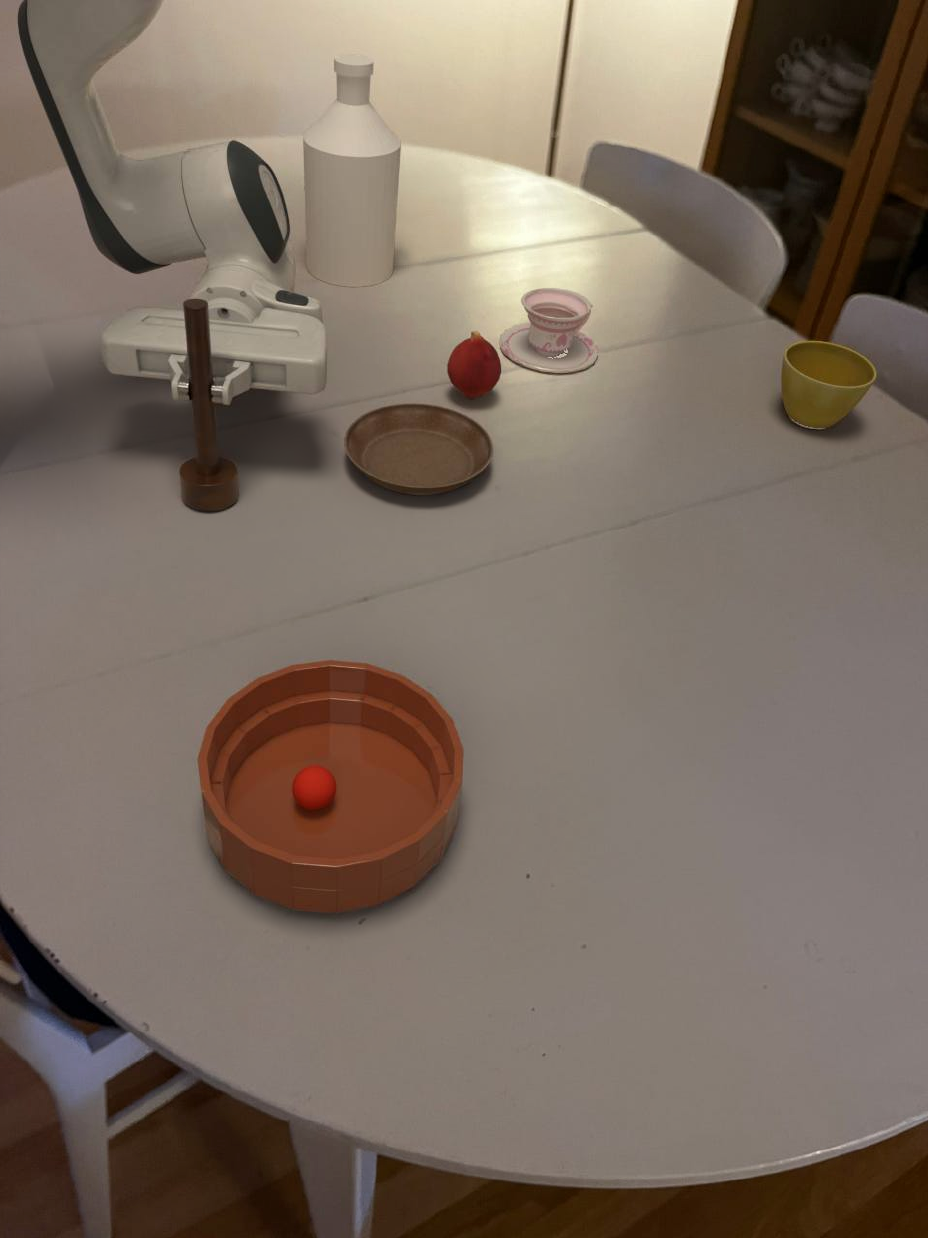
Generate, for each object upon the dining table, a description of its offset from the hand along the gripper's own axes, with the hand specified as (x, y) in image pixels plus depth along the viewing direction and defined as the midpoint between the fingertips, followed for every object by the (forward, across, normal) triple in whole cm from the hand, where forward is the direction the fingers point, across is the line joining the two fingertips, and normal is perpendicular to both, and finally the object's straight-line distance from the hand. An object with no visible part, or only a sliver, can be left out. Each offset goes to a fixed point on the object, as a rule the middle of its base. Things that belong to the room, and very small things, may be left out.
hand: (200, 395), depth 88 cm
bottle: (-53, +7, +11) cm, 55 cm away
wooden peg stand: (0, 0, +11) cm, 11 cm away
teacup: (-36, +33, +11) cm, 50 cm away
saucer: (-9, +19, +11) cm, 24 cm away
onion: (-23, +24, +11) cm, 35 cm away
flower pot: (-26, +63, +11) cm, 69 cm away
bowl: (+34, +16, +11) cm, 39 cm away
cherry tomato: (+34, +15, +9) cm, 38 cm away
